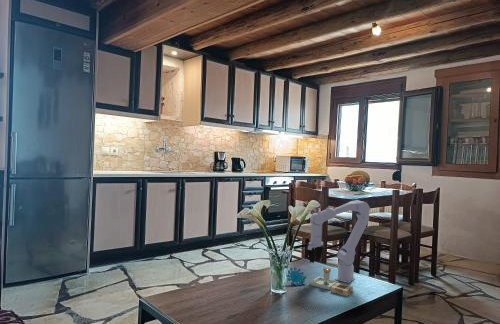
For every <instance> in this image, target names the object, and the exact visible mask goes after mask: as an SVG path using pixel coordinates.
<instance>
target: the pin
mask: <svg viewBox="0 0 500 324" xmlns="http://www.w3.org/2000/svg"><path fill="white" fill-rule="evenodd" d="M331 269H332V268H328V267H323V268H322V272H323V277H324V279H323V284H324V285H329V279H330V277H331V276H330V273H331Z"/></svg>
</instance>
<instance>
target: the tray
mask: <svg viewBox="0 0 500 324" xmlns="http://www.w3.org/2000/svg"><path fill="white" fill-rule="evenodd" d="M323 279H324V276H319V275H318V276H317V277H315V278H313V279H312V280H310V281H309V286H311V287H316V288H319V287H320V289H323V290H326V289H327V290H326V291H331V290H330V289H331V287H332V286H333V285H335V284H337V283H339V280H335V279H332V278H329V285H324V284H323Z"/></svg>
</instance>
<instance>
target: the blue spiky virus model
mask: <svg viewBox="0 0 500 324" xmlns="http://www.w3.org/2000/svg"><path fill="white" fill-rule="evenodd" d="M287 271H288V273H287V274H288V275H287V274H286V278H287V281H288V282H290V284H291V285H292V286H293V285H295V286H296V287H298V286H302V285H303V284H304V282H305V280H306V279H307V278H308V275H304V274H305V273H304V271H301V269H300V268H298V269H297V267H295V266H294V267H290V268H289V269H288V270H287ZM294 283H295V284H294Z"/></svg>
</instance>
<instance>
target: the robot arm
mask: <svg viewBox="0 0 500 324" xmlns="http://www.w3.org/2000/svg"><path fill="white" fill-rule="evenodd" d="M349 211H351V212H354V213H355V214H356V217H357V220H356V222H355V224H354V226H353V228H352V230H351V233H350V235H349V237H348V239H347V241H346V242H345V244H344V245H341V247H340V249H338V251H337V252H336V257H337V259H338V260H337V261H338V263H337V277H335V278H334V280H336V281H338V282H343V283H347V284H349V283H351V282H352V281H354V280H355V279H356V277H354V274H355V266H354V264H353V263H354V262H355V255H356V248H357V245H358V244H359V241H360V239H361V237H362V235H363V234H364V231H365V229H366V227H367V225H368V223H369V222H370V211H371V208H370V205H369V204H368V202H366V201H361V200H359V199H354V200H351V201H349V202H346V203H344V204H342V205H340V206H337V207H336V208H332V207H326V208H325V209H323V210H322V211H320V210H319V211H317V212H313V213H312V214H310V217H309V220H310V221H309V222H311V224H310V226H311V227H310V242H308V245H307V248H306V249H305V250H306V253H307V255H308V259H309V263H311V264H314V263H315V259H316V260H319V261H321V258H322V255H323V251H324V250H325V246H324V241H322V239H323V238H322V234H323V231H322V230H323V226H322V225H323V224H324V222H327V221H330V220H333V219H335V218H336V216H337V215H339V214H343V213H345V212H349Z"/></svg>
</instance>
